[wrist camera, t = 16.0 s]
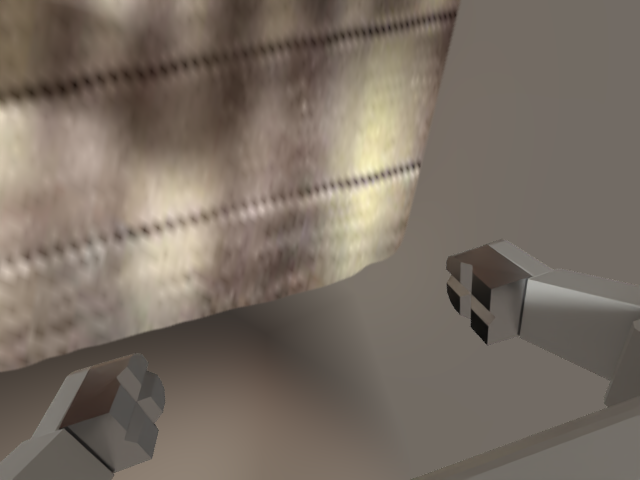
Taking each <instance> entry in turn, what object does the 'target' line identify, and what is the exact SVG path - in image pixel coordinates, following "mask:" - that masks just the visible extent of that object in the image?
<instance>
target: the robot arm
mask: <svg viewBox="0 0 640 480" xmlns="http://www.w3.org/2000/svg"><path fill="white" fill-rule="evenodd" d="M446 270H448V272H449V273H451V276H450V278H449V280H448V281H447V293H448V296H449V299H450V302H451V304H452V305H453V307H454V309H455V310H456V311H457V312H458V313H459V315H461V316H464V317H466V318H469V319H471V328H472V329H473V330H474V331H475V333H476V334H477V335H478V336H479V337H480V338H481V339H482V340H483V341H484V342H485V344H486V345H491V344H494V343H497V342H501V341H504V340H507V339H511V338H514V337H517V336H520V338H521V339H523V340H526V341H528V342H530V343H532V344H534V345H536V346H538V347H540V348H542V349H544V350H547V351H549V352H551V353H553V354H555V355H557V356H559V357H561V358H563V359H565V360H567V361H570V362H572V363H574V364H576V365H578V366H580V367H582V368H584V369H587V370H589V371H591V372H593V373H595V374H597V375H599V376H601V377H603V378H606V379H607V380H609V381H610V383H609V386H608V388H607V391H606V394H605V397H604V404H605V405H606V406H607V408H605V409H602V410H599V411H596V412H594V413H591V414H588V415H586V416H583V417H580V418H577V419H575V420H572V421H569V422H566V423H564V424H561V425H558V426H555V427H553V428H550V429H547V430H545V431H542V432H539V433H537V434H534V435H531V436H528V437H526V438H523V439H520V440H517V441H514V442H512V443H509V444H507V445H504V446H501V447H498V448H496V449H493V450H490V451H487V452H484V453H482V454H479V455H476V456H473V457H471V458H468V459H465V460H463V461H460V462H457V463H455V464H452V465H449V466H446V467H443V468H441V469H438V470H435V471H433V472H430V473H427V474H424V475H422V476H419V477H416V478H413V479H411V480H640V286H639V285H635V284H630V283H626V282H621V281H616V280H612V279H607V278H602V277H598V276H593V275H588V274H584V273H579V272H575V271H570V270H565V269H560V268H559V269H556V270H553V269H551V268H550V267H548V266H546V265H545V264H543V263H541V262H540V261H539V260H537V259H536V258H534V257H532V256H531V255H529V254H528V253H526V252H525V251H523V250H521V249H520V248H518V247H517V246H515V245H514V244H512V243H511V242H509V241H507V240H503V239H500V240H496V241H493V242H491V243H487V244H485V245H483V246H480V247H477V248H474V249H471V250H467V251H464V252H461V253H458V254H454V255H451V256H449V257H448V258H447V261H446ZM147 366H148V362H147V360H146V359H145V358H144V357H143V355H142V354H136V353H135V354H131V355H128V356H125V357H121V358H118V359H114V360H111V361H107V362H104V363H100V364H97V365H94V366H91V367H88V368H84V369H80V370H77V371H74V372H73V373H71V374H70V375H68V376H67V377H66V379H65V381H64V383H63V384H62V386H61V388H60V389H59V391H58V393H57V395H56V396H55V398H54V400H53V401H52V403H51V405H50V407H49V408H48V410H47V412H46V414H45V415H44V417H43V419H42V420H41V422H40V424H39V425H38V427H37V429H36V431H35V432H34V434H33V436H32V438H31V439H29V440H27V441H24V442H22V443H21V444H20V445H19V446H18V447H17V448H16V449H14V450H13V451H12V452H11V453H10V454H9V455H8V456H7V457H6V458H5V459H4V460H3V461H1V462H0V480H111V479H112V478H113V476H114V474H113V473H115V472H118V471H120V470H123V469H126V468H129V467H131V466H134V465H136V464H139V463H142V462H145V461H148V460H150V459H152V456H153V452H154V447H155V444H156V439H157V435H158V431H159V430H158V428H157V427H156V425H155V424H154V423H155V422H156V421H157V419H158V418H159V417H160V415H161V414H162V413H163V409H164V405H165V392H164V391H165V390H164V387H163V384H162V381H161V380H160V378H159V377H158V375H157V374H155V373H152V372H149V371H147Z"/></svg>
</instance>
